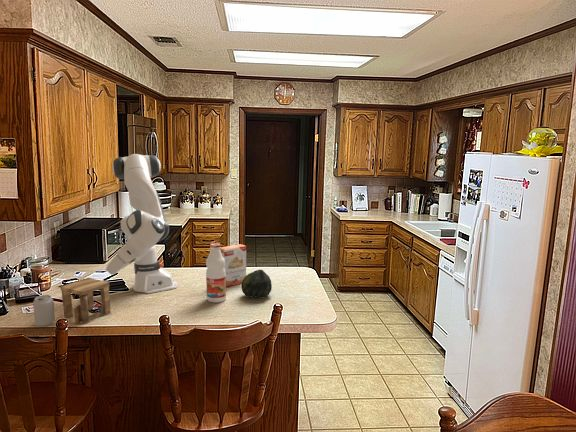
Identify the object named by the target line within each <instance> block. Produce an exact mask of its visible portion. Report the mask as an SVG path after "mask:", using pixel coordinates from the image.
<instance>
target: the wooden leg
mask: <svg viewBox="0 0 576 432" xmlns="http://www.w3.org/2000/svg"><path fill="white" fill-rule="evenodd" d="M78 297H79V305H80V309H81V320H82V322H81V324H89V323H90V320H92V319H94V318H97V317H102V316H104V314H103V307H102V305H100V306H98V307H97V309H98V311H97V312H95V313H92V314H90V312H89V311H90V310H88V299H87V295H79V296H78ZM89 314H90V315H89Z"/></svg>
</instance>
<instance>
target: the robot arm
mask: <svg viewBox="0 0 576 432" xmlns="http://www.w3.org/2000/svg"><path fill="white" fill-rule="evenodd" d="M111 169H112V173H113V174H114V176H115V178H116V179H118V180H123V181H124V184H125V185H124V186H125V187H126V189H127V191H128V197H129V205H130V206H131V207H132V209H134V211H133V212H131V213H130V214H129V215H128V214H127V215H126V216H123V217H122V219H121V221H120V229H121V231H122V233H124V234H125V235H126V236H127V237H128V241H126V243H125V244H124V245H122V247H121V248H120V249H118V250H117V251H116V255H115V256H114V257H113V258H112V259H111V260H110V262H109V263H108V264H107V266H106V268H105V270H106V271H107V272H108V273H109V274H110V275H111V276H112V275H113V276H114V275H115V274H117V273H118V272H120V271H121V270H122V269H124V268H126V267H127V266H129V265H131V264H132V263H133V271H134V283H133V288H132V290H133V291H135V292H137V293H144V294H153V293H158V292H165V291H169V290H170V291H171V290H174V289H177V288H178V285H179V284H178V282H177V280H175V279H174V278H173V275H172V273H170V271H168V270H166V269H165V268H163V267H164V265H163V263H162V262H161V261H160V260H158V255H157V252H158V251H157V246H156V244H157V243H159V242H162V241H163V240H165V239H166V238H167V237H168V235H169V233H170V224H169V222H168V220H167V218H166V215H165V213H164V210H163V205H162V202H161V197H160V196H159V193H158V191H157V190H156V188H155V186H154V184H153V181H152V179H153V178H154V177H156V176H159V174H160V172H161V169H162V164H161V161H160V159H159V157H158V156H157V155H154V154H149V155H148V154H145V155H144V154H139V153H133V154H132V153H131V154H130V155H128V156H123V157H122V156H119V157H116V158H115V159H113V161H112V165H111ZM151 178H152V179H151Z"/></svg>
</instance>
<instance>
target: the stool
mask: <svg viewBox="0 0 576 432" xmlns="http://www.w3.org/2000/svg"><path fill="white" fill-rule="evenodd" d="M99 290H100V299H101V300H100V303H101V306H102V307H103V316H104V315H105V316H108V315H109V314H112V312H111V300H110V299H111V297H110V282H109V281H105V280H101V279H95V278H92V277H86V278H82V279H80V280H77V281H74V282H73V281H72V282H70V283H68V284H64V285H61V286H60V291H61V298H62V299H61V300H62V309H63V318H64V319H66V320H70V319H72V318H73V317H74V324H75V325H79V324H80V323H81V324H82V320H81V309H80V304H78V305H76V306H75V307H74V308H73V302H72V294H75V295H79V296H81V295H87V299H88V311H91V309H92V310H93V308H94V309H95V305H94V304H95V302H94V291H99Z"/></svg>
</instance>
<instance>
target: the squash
mask: <svg viewBox="0 0 576 432" xmlns="http://www.w3.org/2000/svg"><path fill="white" fill-rule="evenodd" d="M272 287H273V285H272V280H271V277H270V276H269V275H268V274H267V273H266V272H265V271H264V270H263V269H257V270H254V271H252V272H250V273H248V274H246V276H245V277H244V279H243V281H242V283H241V291H242V294H244V296H245V297H247V298H252V299H253V298H254V299H255V298H259V299H265V298H266V297H268V296H269V295H270V293H271V292H272Z"/></svg>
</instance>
